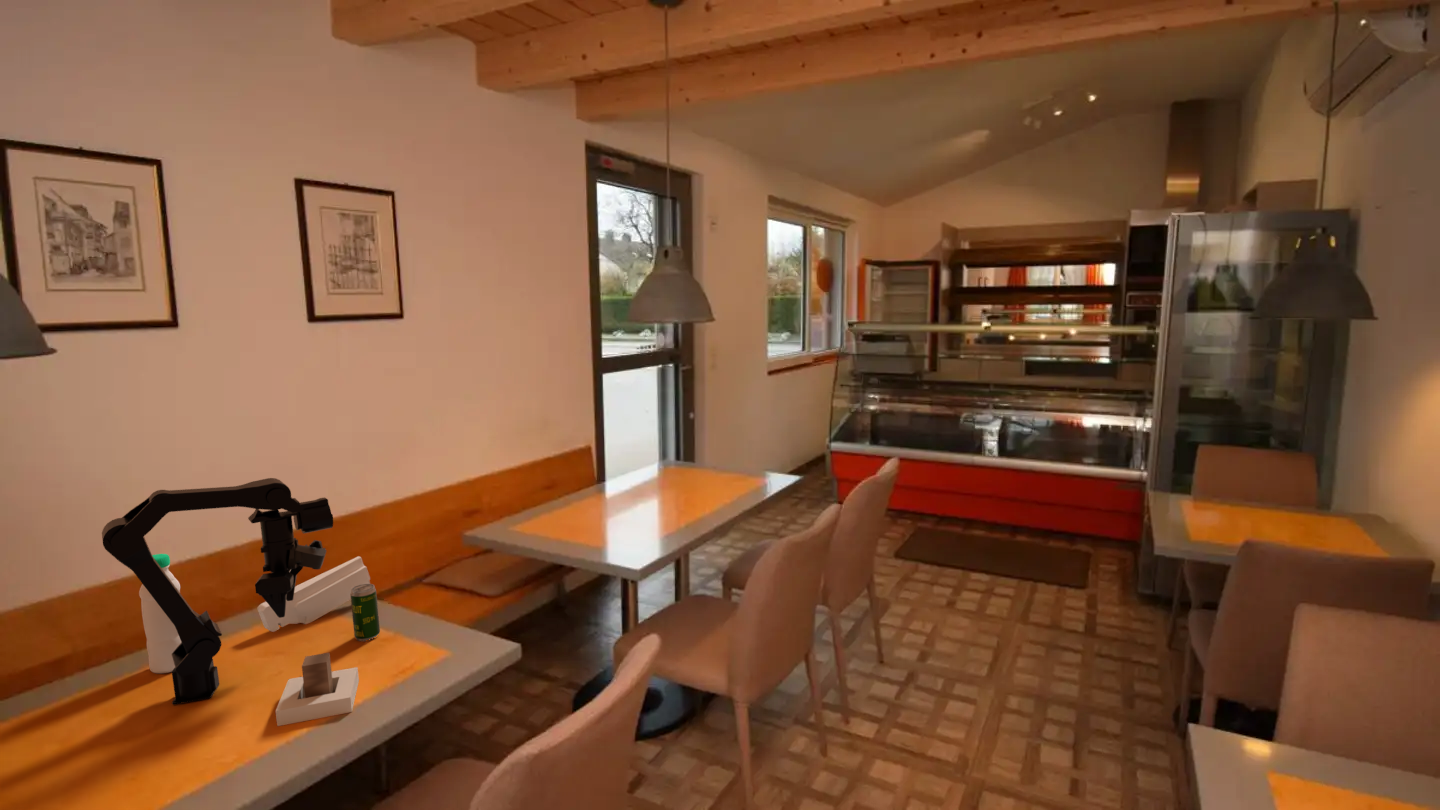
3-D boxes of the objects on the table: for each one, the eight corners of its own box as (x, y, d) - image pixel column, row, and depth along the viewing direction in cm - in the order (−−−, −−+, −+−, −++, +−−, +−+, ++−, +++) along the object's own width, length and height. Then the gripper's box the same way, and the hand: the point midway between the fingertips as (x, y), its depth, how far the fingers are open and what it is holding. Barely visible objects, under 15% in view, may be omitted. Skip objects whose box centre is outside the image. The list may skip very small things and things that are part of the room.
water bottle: (185, 670, 158) (169, 559, 155) (145, 677, 156) (128, 564, 152) (194, 656, 165) (180, 548, 161) (156, 662, 162) (141, 553, 159)
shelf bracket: (379, 600, 194) (365, 558, 190) (281, 656, 175) (264, 610, 171) (368, 596, 197) (354, 554, 193) (271, 649, 179) (254, 605, 175)
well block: (277, 726, 137) (275, 711, 136) (290, 693, 148) (288, 679, 148) (351, 711, 141) (350, 697, 141) (358, 680, 153) (357, 667, 152)
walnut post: (306, 710, 142) (301, 666, 141) (310, 699, 146) (305, 656, 145) (331, 705, 143) (326, 662, 142) (333, 694, 147) (329, 652, 146)
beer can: (370, 629, 176) (365, 581, 175) (385, 634, 174) (380, 585, 172) (349, 639, 172) (344, 590, 170) (365, 643, 169) (360, 594, 167)
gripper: (314, 546, 149) (321, 619, 152) (327, 521, 167) (334, 587, 169) (250, 554, 146) (259, 629, 148) (270, 527, 163) (278, 594, 165)
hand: (286, 608), depth 158 cm, fingers open, 9 cm apart
